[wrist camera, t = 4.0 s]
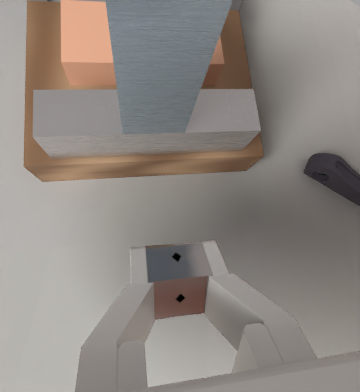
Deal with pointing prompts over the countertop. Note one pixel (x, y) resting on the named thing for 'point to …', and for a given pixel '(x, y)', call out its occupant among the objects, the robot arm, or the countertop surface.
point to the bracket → (335, 175)
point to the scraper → (151, 90)
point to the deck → (57, 80)
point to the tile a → (86, 43)
